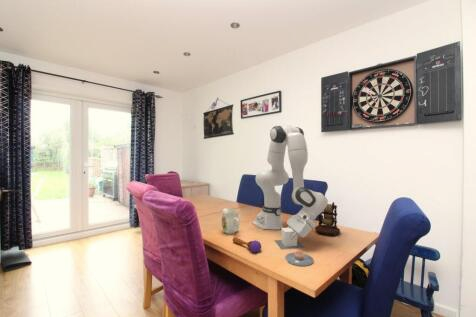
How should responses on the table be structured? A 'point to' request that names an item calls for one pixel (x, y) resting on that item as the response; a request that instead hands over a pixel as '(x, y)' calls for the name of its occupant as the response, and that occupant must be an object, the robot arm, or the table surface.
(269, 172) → the robot arm
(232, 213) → the pitcher
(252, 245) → the kendama
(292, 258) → the pot lid
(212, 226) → the table surface
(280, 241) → the mat
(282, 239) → the cover
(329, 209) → the wooden spool stand
